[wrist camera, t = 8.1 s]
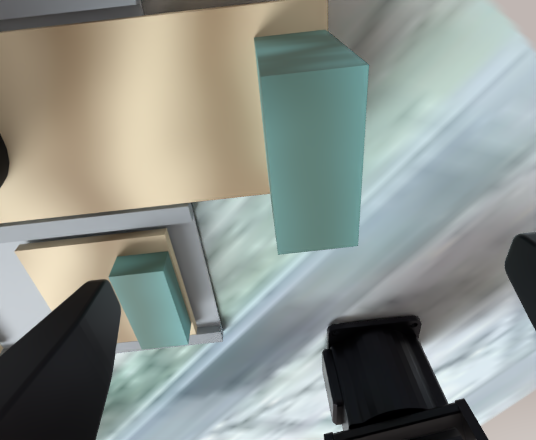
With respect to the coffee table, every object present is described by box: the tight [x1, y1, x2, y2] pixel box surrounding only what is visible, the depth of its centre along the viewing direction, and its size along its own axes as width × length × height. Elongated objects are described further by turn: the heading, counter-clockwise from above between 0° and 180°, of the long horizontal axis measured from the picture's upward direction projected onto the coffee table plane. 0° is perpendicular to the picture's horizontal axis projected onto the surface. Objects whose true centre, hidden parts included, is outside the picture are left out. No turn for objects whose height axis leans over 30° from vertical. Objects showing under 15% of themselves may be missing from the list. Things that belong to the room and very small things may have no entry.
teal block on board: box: [0, 0, 369, 255], centre depth 14 cm, size 22×8×7 cm, turn 95°
